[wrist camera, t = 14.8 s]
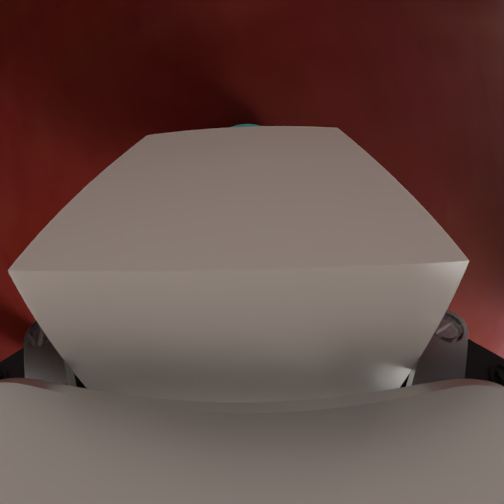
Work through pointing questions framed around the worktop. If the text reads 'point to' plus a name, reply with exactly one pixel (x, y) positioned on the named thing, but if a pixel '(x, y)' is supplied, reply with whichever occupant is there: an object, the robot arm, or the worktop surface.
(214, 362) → the pale grey cube
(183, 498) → the robot arm
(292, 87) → the worktop surface
